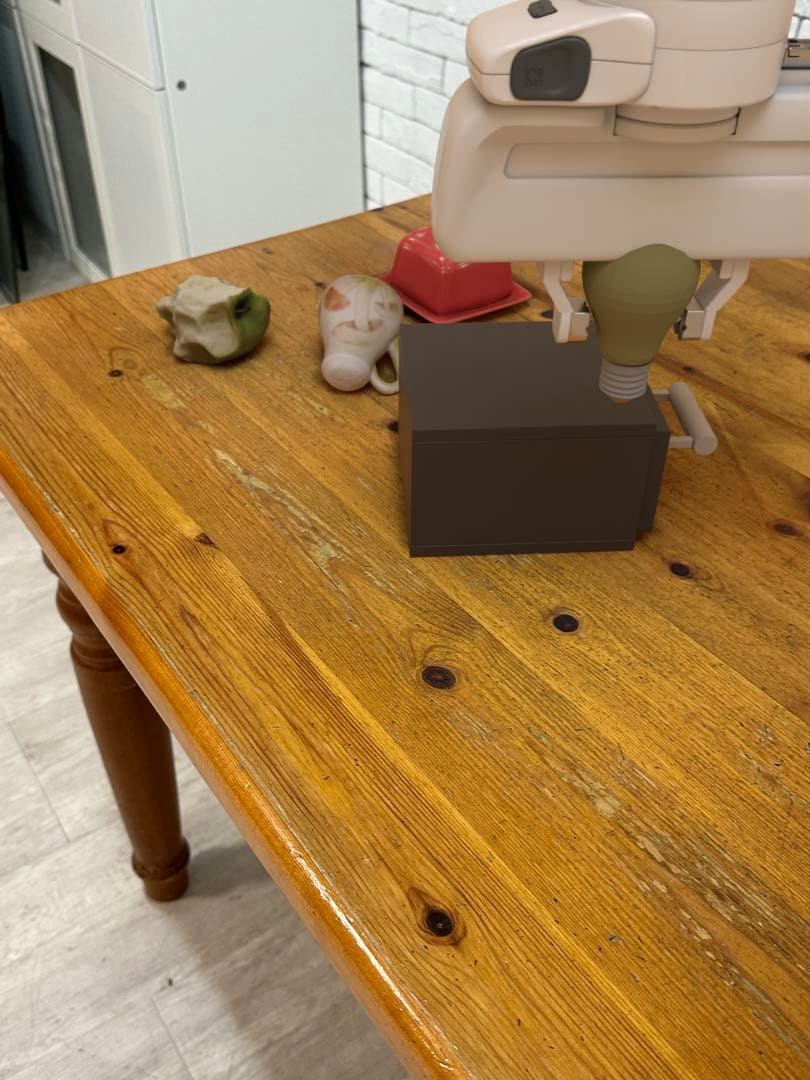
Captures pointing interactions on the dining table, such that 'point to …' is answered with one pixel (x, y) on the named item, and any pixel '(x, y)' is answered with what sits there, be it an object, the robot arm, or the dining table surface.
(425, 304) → the butter dish
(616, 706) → the dining table surface
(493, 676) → the dining table surface
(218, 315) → the fruit
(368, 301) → the mug
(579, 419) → the cabinet
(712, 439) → the drawer
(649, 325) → the light bulb
